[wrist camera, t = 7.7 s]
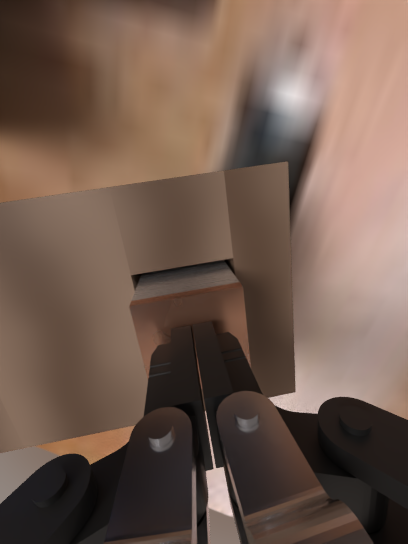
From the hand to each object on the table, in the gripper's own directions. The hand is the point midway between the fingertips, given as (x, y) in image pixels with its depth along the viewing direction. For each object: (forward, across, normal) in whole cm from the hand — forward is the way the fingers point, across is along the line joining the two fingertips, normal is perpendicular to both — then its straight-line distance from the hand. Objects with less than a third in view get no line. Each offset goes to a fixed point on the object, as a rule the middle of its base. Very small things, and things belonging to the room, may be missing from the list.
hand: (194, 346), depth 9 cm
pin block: (+11, +6, 0) cm, 12 cm away
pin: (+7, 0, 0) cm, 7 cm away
